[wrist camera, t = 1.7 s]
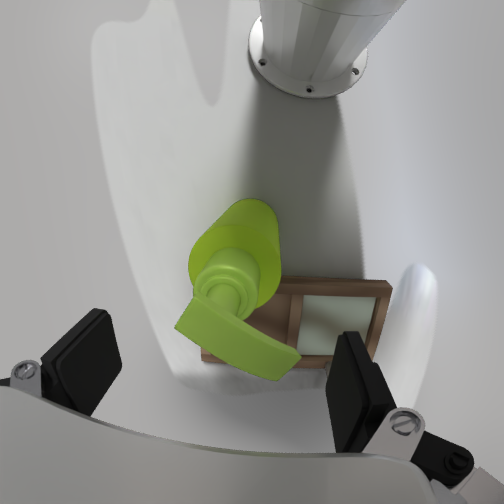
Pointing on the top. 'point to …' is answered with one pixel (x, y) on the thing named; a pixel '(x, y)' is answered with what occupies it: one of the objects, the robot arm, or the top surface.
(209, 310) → the soap dispenser
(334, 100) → the top surface
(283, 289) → the wooden divided tray
